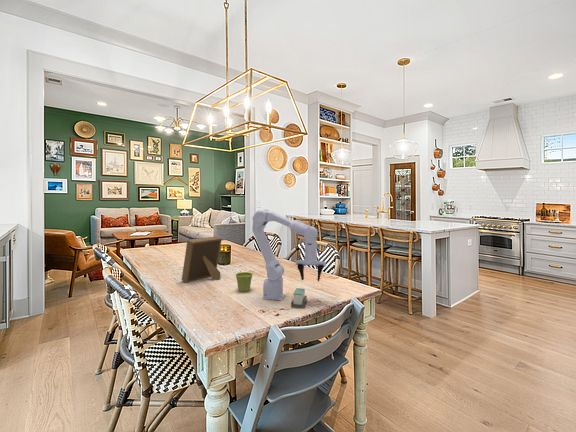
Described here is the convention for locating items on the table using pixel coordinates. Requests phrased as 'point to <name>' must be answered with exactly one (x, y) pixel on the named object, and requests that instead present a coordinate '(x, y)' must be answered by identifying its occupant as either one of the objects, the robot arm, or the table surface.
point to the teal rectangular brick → (298, 296)
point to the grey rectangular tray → (299, 305)
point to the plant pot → (244, 281)
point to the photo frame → (201, 259)
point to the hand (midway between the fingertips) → (310, 280)
